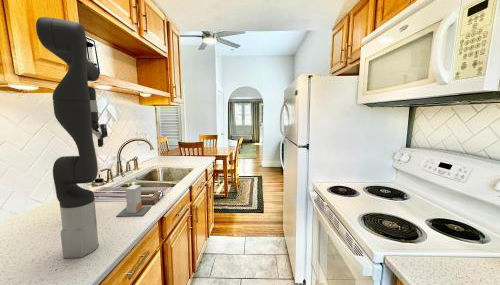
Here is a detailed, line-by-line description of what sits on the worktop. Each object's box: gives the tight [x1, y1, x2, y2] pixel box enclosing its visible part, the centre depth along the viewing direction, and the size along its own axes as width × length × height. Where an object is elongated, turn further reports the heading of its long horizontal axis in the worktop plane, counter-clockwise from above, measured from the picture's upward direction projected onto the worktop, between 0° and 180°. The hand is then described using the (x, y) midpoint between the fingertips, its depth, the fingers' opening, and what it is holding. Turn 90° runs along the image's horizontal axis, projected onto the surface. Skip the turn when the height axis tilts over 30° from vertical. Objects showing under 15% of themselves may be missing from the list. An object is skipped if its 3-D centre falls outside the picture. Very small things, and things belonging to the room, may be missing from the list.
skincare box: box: [125, 184, 142, 213], centre depth 104 cm, size 6×4×12 cm
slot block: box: [141, 190, 163, 206], centre depth 118 cm, size 13×13×3 cm
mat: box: [115, 205, 152, 218], centre depth 104 cm, size 10×12×1 cm
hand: (90, 146), depth 98 cm, fingers open, 8 cm apart
